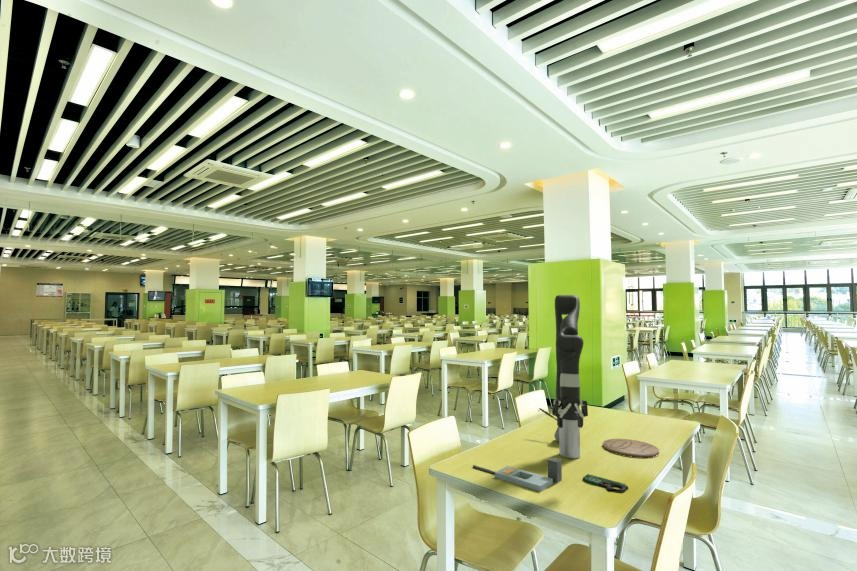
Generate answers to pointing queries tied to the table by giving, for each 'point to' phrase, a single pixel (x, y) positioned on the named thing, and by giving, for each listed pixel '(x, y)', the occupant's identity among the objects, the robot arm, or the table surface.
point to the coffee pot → (557, 428)
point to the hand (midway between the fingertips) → (570, 427)
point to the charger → (555, 469)
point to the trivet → (630, 448)
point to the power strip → (513, 476)
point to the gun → (605, 483)
